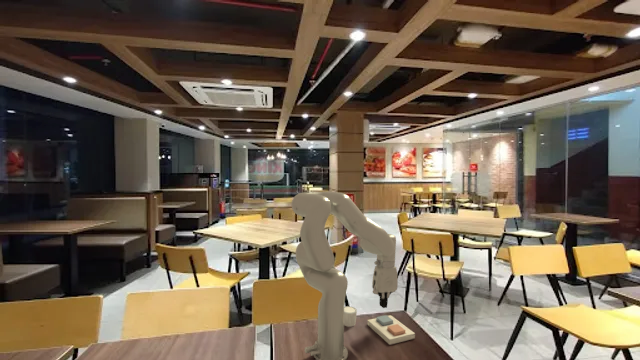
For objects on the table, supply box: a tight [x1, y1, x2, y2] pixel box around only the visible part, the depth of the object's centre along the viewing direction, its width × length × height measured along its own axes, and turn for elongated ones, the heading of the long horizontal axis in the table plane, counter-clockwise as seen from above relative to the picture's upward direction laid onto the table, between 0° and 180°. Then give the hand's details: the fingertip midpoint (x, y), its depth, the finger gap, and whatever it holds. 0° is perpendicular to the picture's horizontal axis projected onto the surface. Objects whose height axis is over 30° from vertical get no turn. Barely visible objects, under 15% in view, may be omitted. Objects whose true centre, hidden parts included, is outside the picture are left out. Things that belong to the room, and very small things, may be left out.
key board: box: [367, 315, 416, 345], centre depth 125 cm, size 12×16×3 cm
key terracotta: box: [387, 324, 405, 336], centre depth 121 cm, size 5×5×2 cm
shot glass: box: [344, 305, 358, 328], centre depth 131 cm, size 7×7×7 cm
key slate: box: [375, 314, 393, 326], centre depth 129 cm, size 5×5×2 cm
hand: (383, 306), depth 128 cm, fingers closed
